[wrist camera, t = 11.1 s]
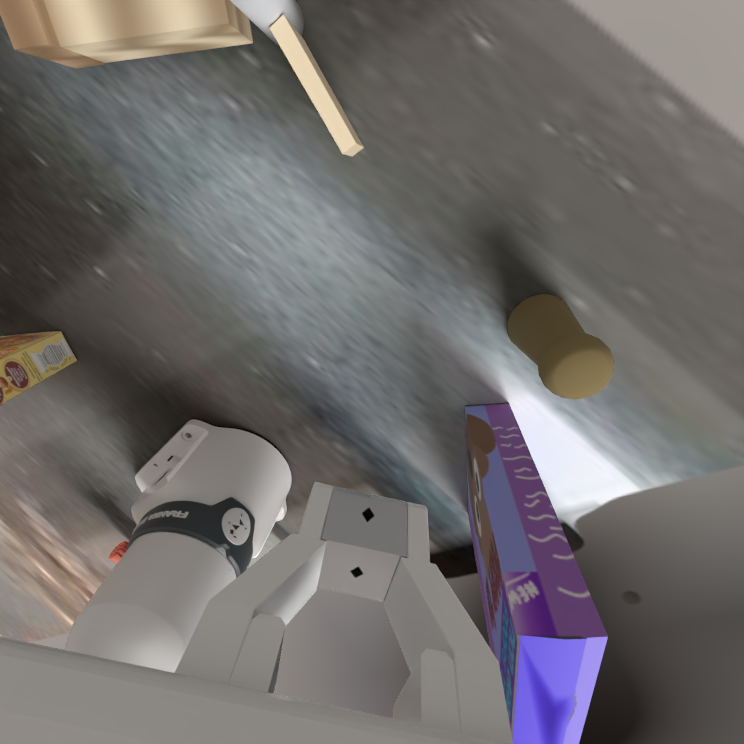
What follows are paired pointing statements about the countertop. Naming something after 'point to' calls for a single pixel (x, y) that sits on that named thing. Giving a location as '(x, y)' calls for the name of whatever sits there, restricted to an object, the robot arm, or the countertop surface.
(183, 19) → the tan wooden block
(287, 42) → the posts
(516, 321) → the cork
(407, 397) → the countertop surface
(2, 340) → the candy box
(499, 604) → the cereal box
